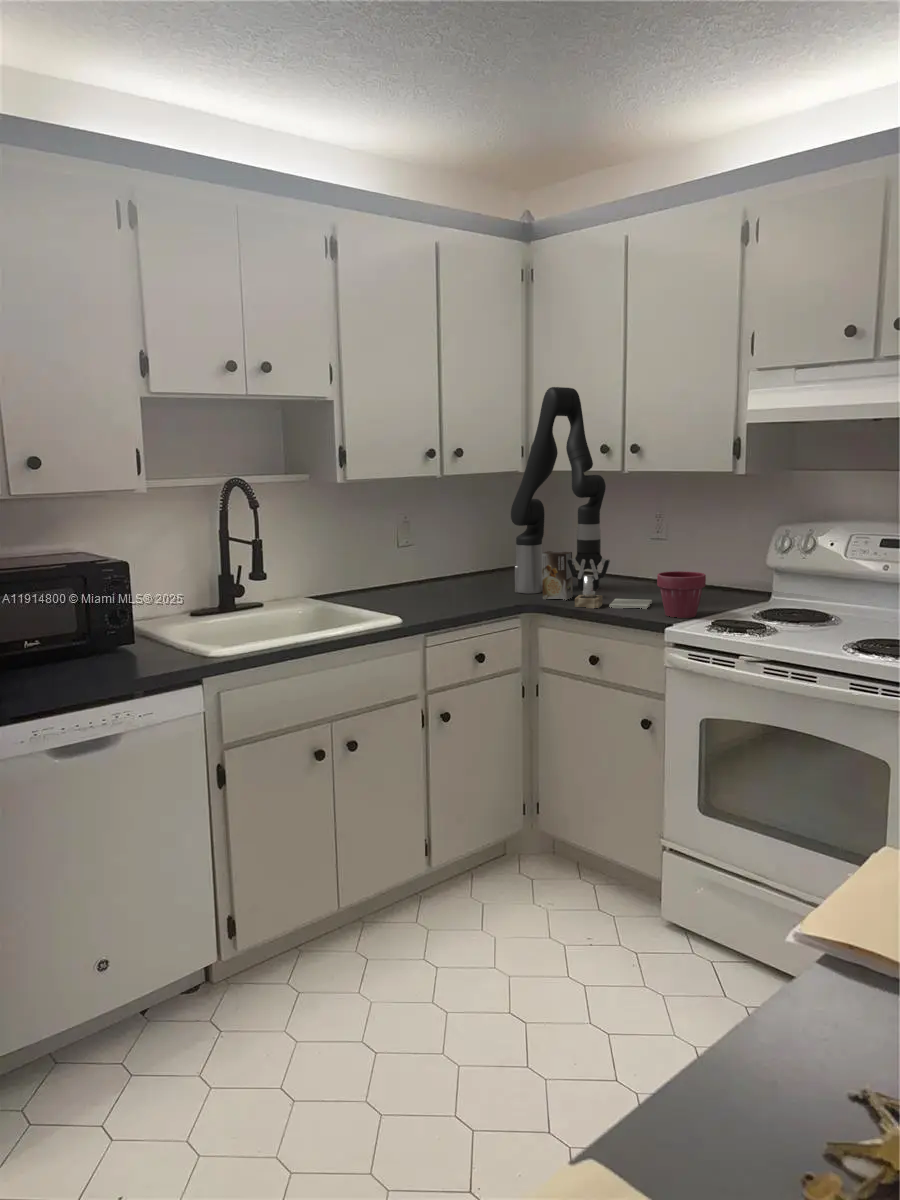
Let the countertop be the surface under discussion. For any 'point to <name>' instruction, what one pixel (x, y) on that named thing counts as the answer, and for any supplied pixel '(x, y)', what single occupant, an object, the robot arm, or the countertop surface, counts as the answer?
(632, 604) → the sage mat
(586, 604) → the wood collar
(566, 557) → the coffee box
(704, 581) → the plant pot
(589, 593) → the metal peg
